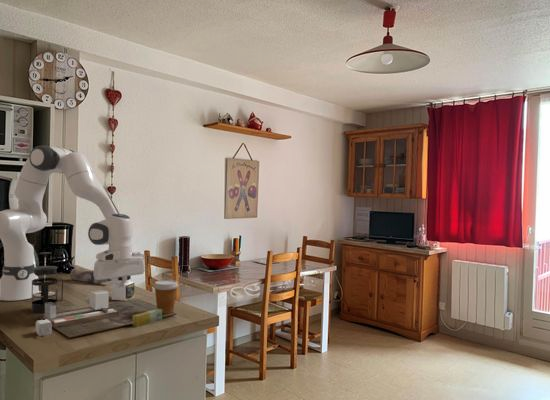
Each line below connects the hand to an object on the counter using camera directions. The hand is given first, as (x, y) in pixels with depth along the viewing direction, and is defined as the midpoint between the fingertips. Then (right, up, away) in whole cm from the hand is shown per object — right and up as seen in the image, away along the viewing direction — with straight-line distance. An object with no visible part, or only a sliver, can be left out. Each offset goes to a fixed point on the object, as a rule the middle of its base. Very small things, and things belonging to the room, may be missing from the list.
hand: (119, 287), depth 168 cm
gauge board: (-10, -9, -12) cm, 18 cm away
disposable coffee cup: (+19, -10, -1) cm, 21 cm away
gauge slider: (-5, -7, -7) cm, 11 cm away
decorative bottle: (-33, -8, +47) cm, 58 cm away
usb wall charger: (-14, -9, -31) cm, 35 cm away
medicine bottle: (-5, -9, +17) cm, 20 cm away
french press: (-29, -8, -3) cm, 30 cm away
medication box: (+16, -10, -15) cm, 24 cm away
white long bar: (-12, -7, -11) cm, 18 cm away
